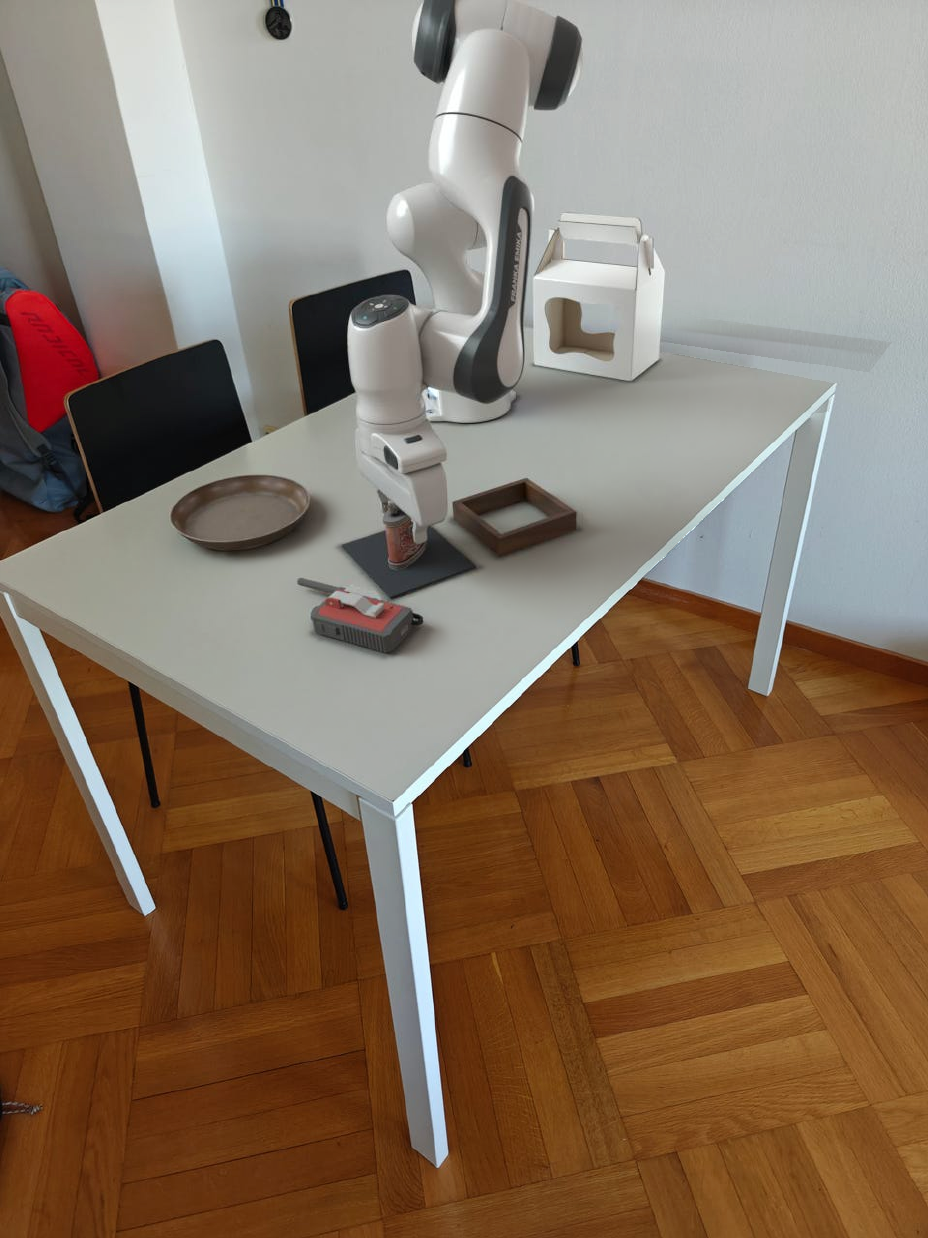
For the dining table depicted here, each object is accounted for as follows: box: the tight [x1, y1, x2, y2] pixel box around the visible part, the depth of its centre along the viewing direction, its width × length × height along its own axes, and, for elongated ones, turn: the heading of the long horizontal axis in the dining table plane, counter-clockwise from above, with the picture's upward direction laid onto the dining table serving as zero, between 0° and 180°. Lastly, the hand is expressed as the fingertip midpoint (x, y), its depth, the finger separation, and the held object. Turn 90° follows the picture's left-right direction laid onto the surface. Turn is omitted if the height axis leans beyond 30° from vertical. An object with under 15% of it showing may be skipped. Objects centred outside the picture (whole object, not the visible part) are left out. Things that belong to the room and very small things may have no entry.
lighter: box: [382, 499, 428, 570], centre depth 120 cm, size 8×3×10 cm, turn 153°
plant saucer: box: [169, 473, 311, 551], centre depth 133 cm, size 21×21×3 cm
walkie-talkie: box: [296, 577, 424, 654], centre depth 111 cm, size 9×4×20 cm
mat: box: [341, 525, 477, 600], centre depth 123 cm, size 16×13×1 cm
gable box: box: [532, 211, 666, 382], centre depth 172 cm, size 22×13×28 cm, turn 56°
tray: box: [451, 477, 578, 558], centre depth 128 cm, size 13×13×3 cm
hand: (403, 526), depth 121 cm, fingers open, 8 cm apart
